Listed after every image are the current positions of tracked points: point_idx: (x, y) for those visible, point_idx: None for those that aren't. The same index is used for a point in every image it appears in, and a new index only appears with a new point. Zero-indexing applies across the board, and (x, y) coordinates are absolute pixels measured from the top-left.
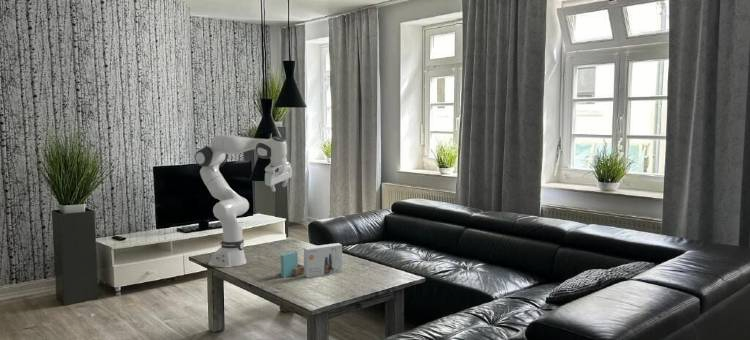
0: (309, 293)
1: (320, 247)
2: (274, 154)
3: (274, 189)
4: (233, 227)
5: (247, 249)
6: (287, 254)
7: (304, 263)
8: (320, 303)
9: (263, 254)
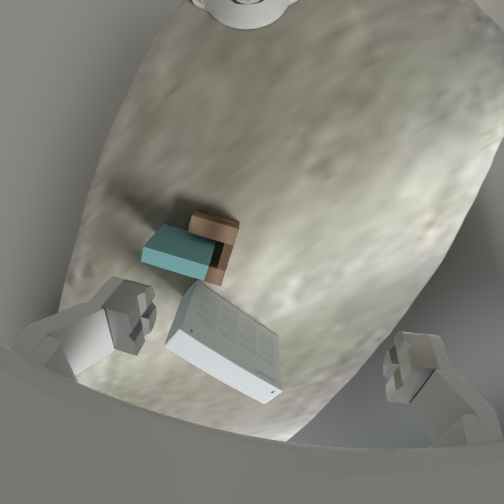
0: None
1: (206, 371)
2: None
3: (112, 338)
4: None
5: None
6: (162, 264)
7: (184, 304)
8: None
9: (381, 28)
